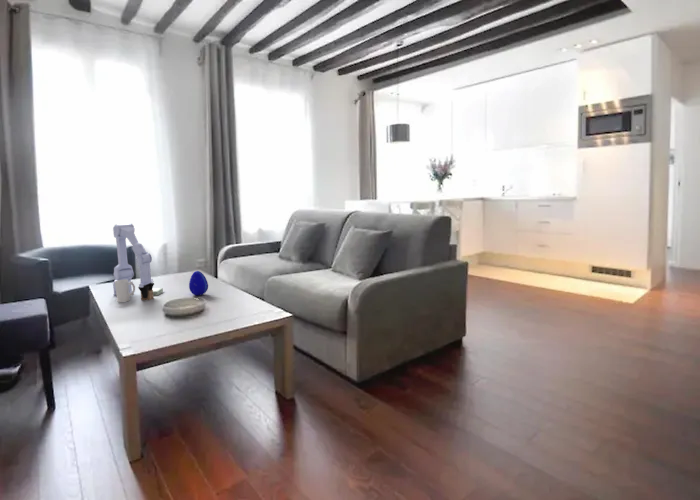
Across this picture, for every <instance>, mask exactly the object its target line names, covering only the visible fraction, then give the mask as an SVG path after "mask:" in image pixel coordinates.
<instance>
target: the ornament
mask: <svg viewBox="0 0 700 500" xmlns="http://www.w3.org/2000/svg"><path fill="white" fill-rule="evenodd" d="M188 283H189V284H188V287H189V291H190V292H191V294H192V295H193V296H202V295H204V294H206V292H208V289H209V282H208V280H207V277H206V276H205V275H204V273H203V272H201V271H199V270H196V271H194V272H192V274H191V276H190V279H189V282H188Z"/></svg>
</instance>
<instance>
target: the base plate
mask: <svg viewBox="0 0 700 500" xmlns="http://www.w3.org/2000/svg"><path fill="white" fill-rule="evenodd" d="M152 290H153V297H154V296H159V295H160V294H162V293H164V289H163V287H153V288H152Z"/></svg>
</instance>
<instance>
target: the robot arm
mask: <svg viewBox="0 0 700 500" xmlns="http://www.w3.org/2000/svg"><path fill="white" fill-rule="evenodd" d="M112 231H113V237H114V238H115V240H116V251H117V262H118V263H117V265H115V266H114V267H113V278H114V281H113V283H112V285H113V296H117V295H116V287H115V281H117V280H128V282H132V278H133V277H134V269H133V266H132V265H131V264H129V262H128V251H127V250H128V249H127V240H128V241H129V243H130V244H131V245H132V247H131V250H132V252H133V253H134V255H135V256H136V262H137V263H136V264H137V267H138V269H139V281H140V282H139V284H138V287H137V288H138V290H139V291H140V294H141V293H142V296H143V298H147V297H148V290H152V288H154V285H155V283H154V280H153V278H152V272H151V263H152V262H153V261H152V260H153V259H152V255H151V253H150V252H148V251H146V249H145V248H144V246H143V244H142V243H139V241H138V239H137V237H136V234H135V226H134V224H133V223H123V224H121V223H119V224H114V226H113V228H112ZM128 288H129V293H131V292H132V291H133V286H132V285H131V284H130V285H128ZM135 292H136V290H135V291H134V293H135Z"/></svg>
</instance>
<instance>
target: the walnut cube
mask: <svg viewBox="0 0 700 500" xmlns="http://www.w3.org/2000/svg"><path fill="white" fill-rule="evenodd" d="M140 297H141V298H140V299H141V301H151V300H153V299H154V296H153V290H148V297H147V298H143V296H142V293H141V292H140Z"/></svg>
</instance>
